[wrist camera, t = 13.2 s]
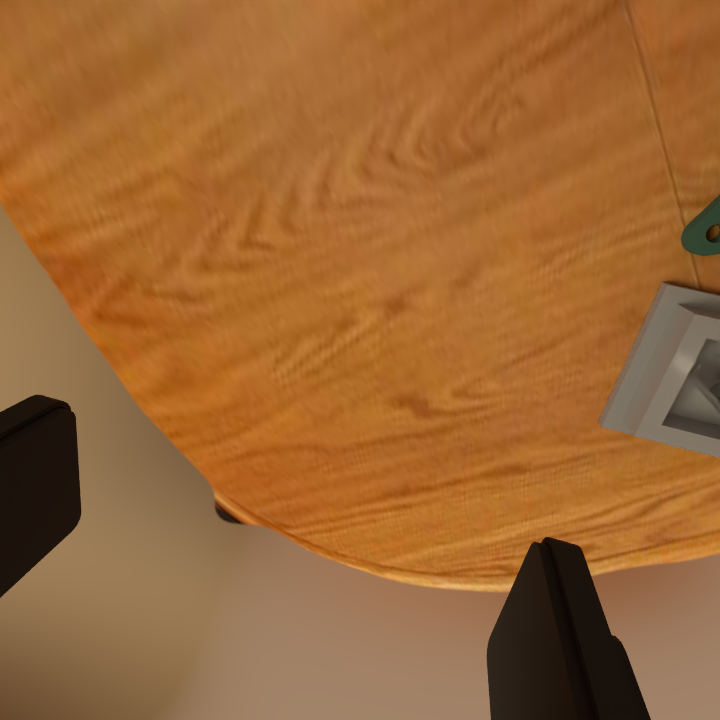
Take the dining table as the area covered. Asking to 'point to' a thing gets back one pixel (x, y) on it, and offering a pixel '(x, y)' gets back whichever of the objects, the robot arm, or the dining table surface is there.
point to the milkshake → (709, 380)
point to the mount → (703, 231)
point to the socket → (670, 374)
